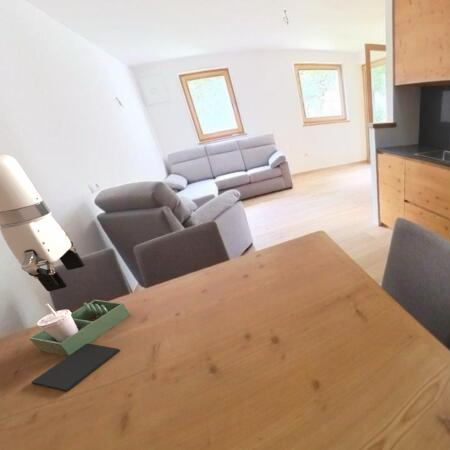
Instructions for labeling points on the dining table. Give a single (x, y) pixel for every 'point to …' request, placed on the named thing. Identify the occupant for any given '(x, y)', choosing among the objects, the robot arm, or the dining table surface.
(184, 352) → the dining table surface
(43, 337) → the rack
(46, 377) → the mat
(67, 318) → the smoothie
